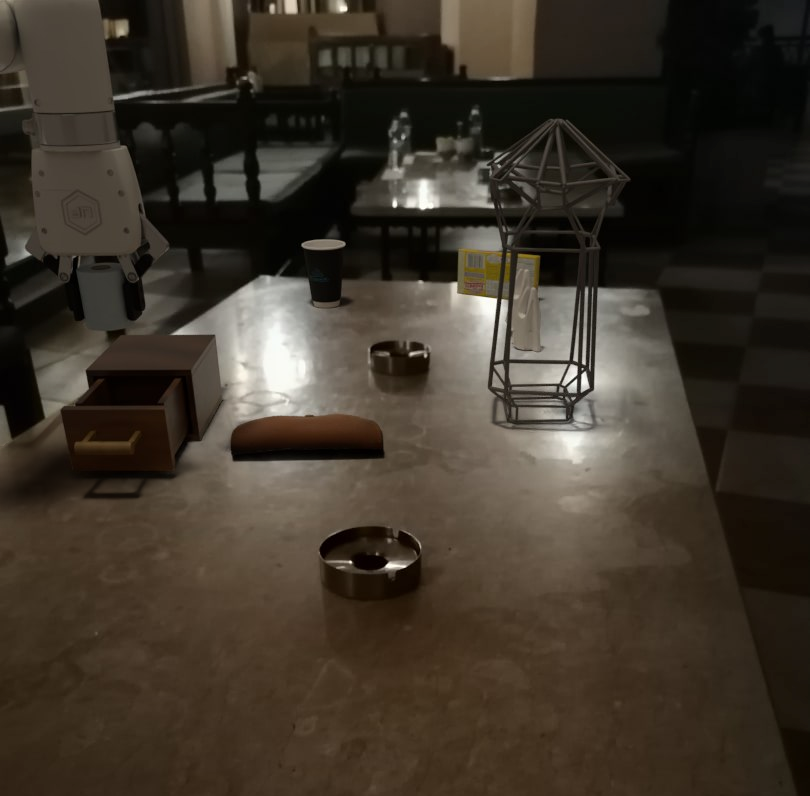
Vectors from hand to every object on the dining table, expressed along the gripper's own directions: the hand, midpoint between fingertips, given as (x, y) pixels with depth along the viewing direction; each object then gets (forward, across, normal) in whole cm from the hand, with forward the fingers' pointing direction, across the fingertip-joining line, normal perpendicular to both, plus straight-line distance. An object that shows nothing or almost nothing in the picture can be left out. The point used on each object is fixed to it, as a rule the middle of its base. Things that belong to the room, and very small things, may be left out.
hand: (109, 315), depth 97 cm
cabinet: (+17, 0, +14) cm, 23 cm away
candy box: (+18, +47, +78) cm, 93 cm away
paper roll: (+1, 0, 0) cm, 1 cm away
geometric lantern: (+18, +49, +17) cm, 54 cm away
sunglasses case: (+18, +20, +6) cm, 27 cm away
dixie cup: (+18, +15, +73) cm, 76 cm away
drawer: (+17, 0, +1) cm, 17 cm away
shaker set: (+18, +49, +49) cm, 72 cm away
